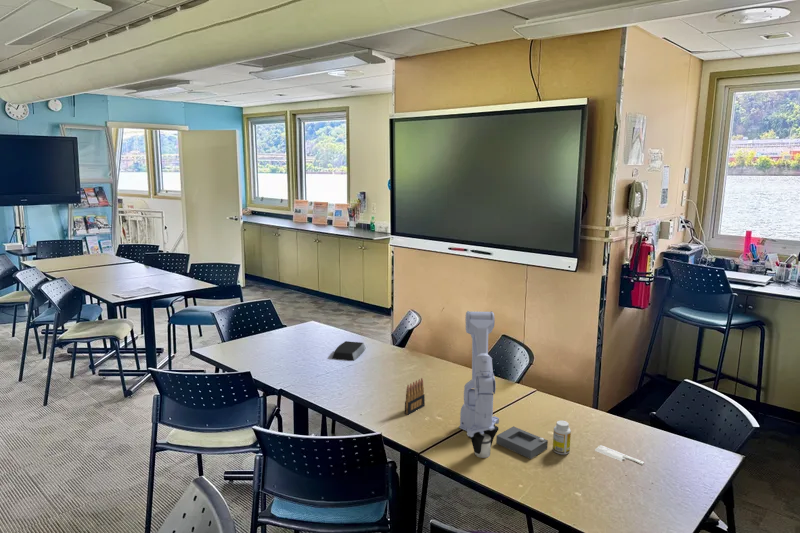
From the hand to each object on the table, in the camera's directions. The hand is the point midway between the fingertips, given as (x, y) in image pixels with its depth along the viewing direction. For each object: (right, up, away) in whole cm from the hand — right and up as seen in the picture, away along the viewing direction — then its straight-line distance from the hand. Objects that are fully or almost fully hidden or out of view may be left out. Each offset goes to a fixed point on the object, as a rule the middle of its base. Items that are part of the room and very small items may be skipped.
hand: (482, 449), depth 183 cm
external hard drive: (-53, +16, +97) cm, 112 cm away
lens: (0, -2, 0) cm, 2 cm away
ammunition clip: (-22, +4, +33) cm, 40 cm away
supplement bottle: (+27, -2, +2) cm, 27 cm away
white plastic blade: (+45, -3, -1) cm, 45 cm away
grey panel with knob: (+14, -1, +6) cm, 15 cm away
